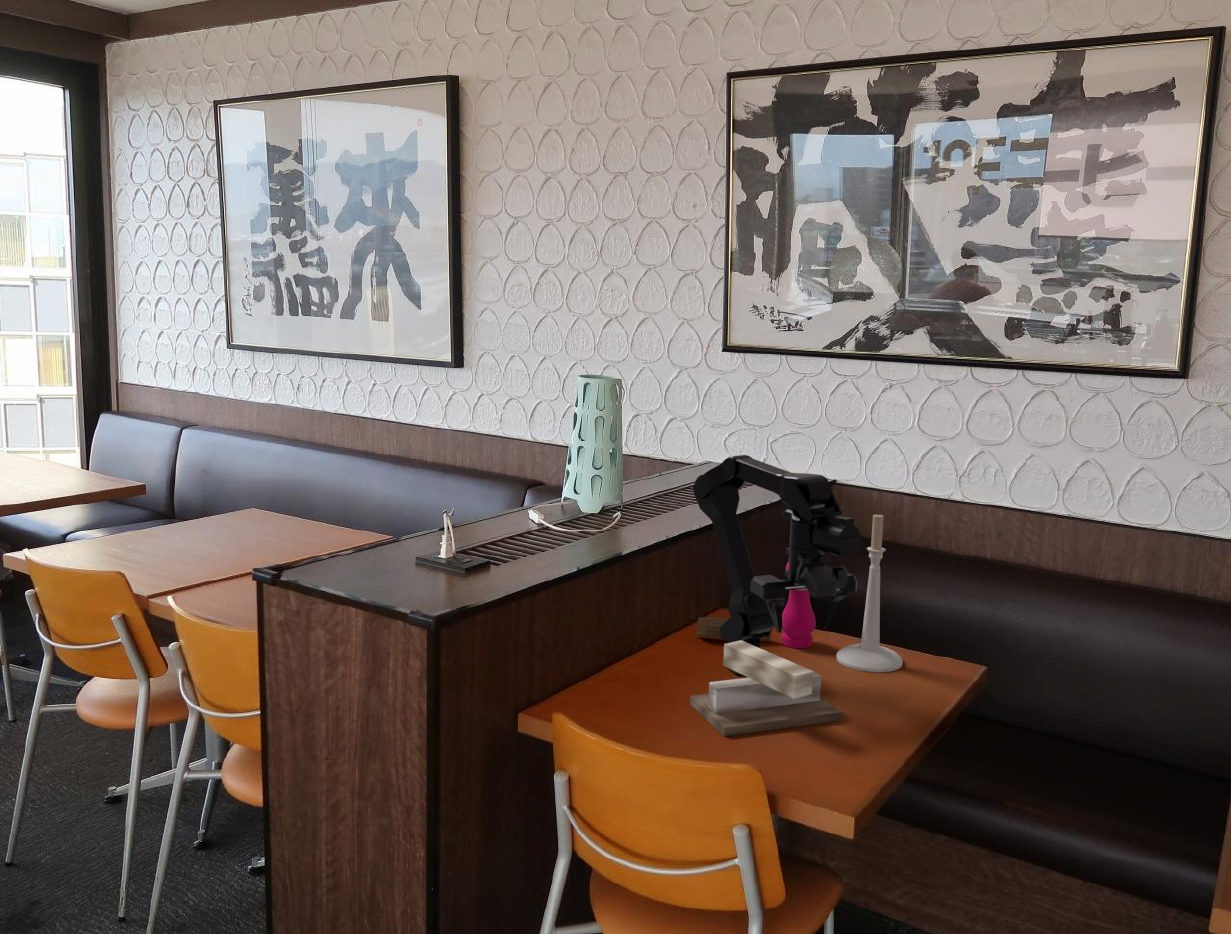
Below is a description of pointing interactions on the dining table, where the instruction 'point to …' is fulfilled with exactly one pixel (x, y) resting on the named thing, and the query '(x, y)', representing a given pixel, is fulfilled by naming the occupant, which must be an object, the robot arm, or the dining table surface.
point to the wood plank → (712, 627)
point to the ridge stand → (760, 707)
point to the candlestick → (871, 619)
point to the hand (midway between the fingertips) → (801, 629)
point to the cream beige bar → (768, 669)
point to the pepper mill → (798, 619)
